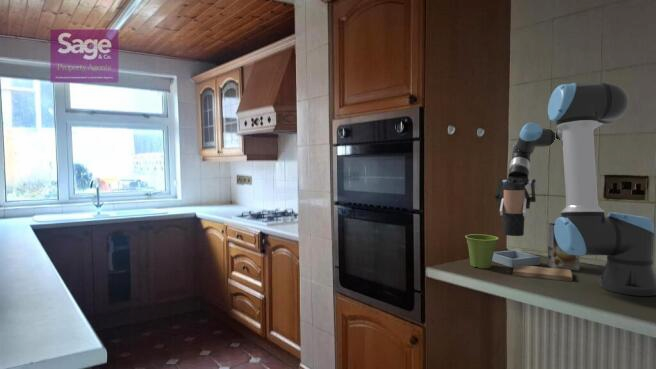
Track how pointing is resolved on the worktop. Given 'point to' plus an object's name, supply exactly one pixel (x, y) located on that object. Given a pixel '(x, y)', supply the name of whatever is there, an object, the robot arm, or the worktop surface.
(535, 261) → the holder frame
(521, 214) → the travel mug
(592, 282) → the worktop surface
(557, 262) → the coffee box
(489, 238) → the plant pot
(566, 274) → the walnut board
